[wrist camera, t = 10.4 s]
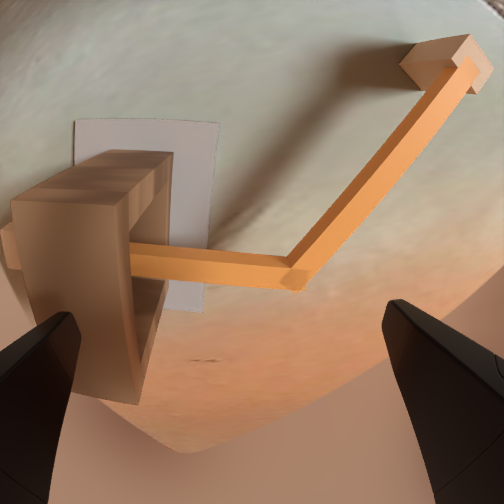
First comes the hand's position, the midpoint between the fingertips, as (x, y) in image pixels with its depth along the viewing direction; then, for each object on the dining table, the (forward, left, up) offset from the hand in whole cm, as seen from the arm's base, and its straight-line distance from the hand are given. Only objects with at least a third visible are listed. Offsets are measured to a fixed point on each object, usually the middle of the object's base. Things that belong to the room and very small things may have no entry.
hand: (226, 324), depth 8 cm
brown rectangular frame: (-2, -5, -12) cm, 13 cm away
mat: (-2, -6, -12) cm, 13 cm away
